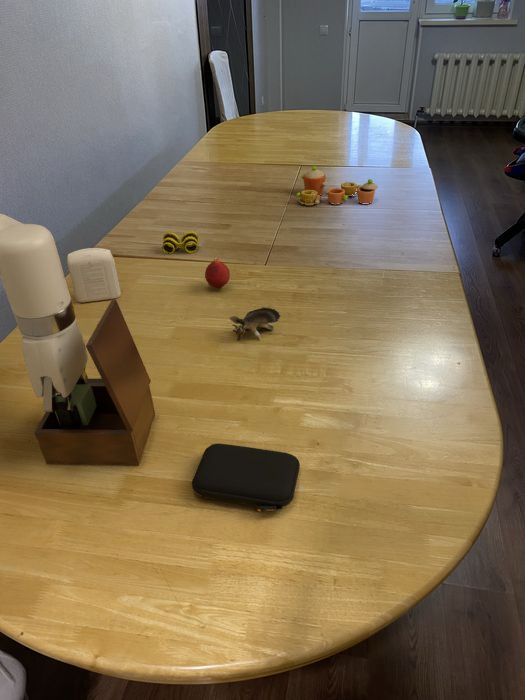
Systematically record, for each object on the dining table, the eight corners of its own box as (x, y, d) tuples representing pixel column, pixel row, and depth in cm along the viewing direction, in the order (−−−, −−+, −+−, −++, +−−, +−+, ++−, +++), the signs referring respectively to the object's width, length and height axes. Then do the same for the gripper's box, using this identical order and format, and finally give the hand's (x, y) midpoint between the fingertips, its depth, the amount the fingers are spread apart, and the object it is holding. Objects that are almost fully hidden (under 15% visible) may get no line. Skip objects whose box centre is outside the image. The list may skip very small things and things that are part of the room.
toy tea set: (295, 207, 167) (295, 177, 161) (297, 191, 179) (297, 163, 174) (377, 207, 164) (380, 176, 159) (373, 191, 177) (375, 162, 171)
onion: (225, 296, 121) (222, 265, 116) (202, 292, 123) (199, 262, 118) (234, 284, 125) (232, 254, 121) (212, 281, 127) (209, 251, 122)
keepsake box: (46, 464, 80) (33, 432, 76) (72, 413, 89) (62, 382, 85) (139, 465, 79) (131, 433, 75) (155, 414, 89) (149, 383, 85)
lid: (85, 345, 66) (91, 345, 66) (111, 300, 76) (116, 299, 76) (127, 431, 75) (133, 431, 75) (146, 381, 84) (151, 380, 84)
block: (59, 425, 80) (51, 403, 77) (69, 405, 84) (62, 384, 81) (87, 425, 80) (81, 403, 77) (96, 405, 83) (90, 384, 81)
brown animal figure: (253, 348, 101) (287, 325, 105) (235, 317, 100) (270, 294, 103) (238, 350, 108) (270, 327, 112) (221, 320, 107) (254, 299, 110)
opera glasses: (163, 257, 141) (160, 242, 138) (164, 245, 145) (161, 230, 141) (198, 255, 141) (196, 240, 138) (199, 244, 145) (197, 229, 141)
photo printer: (121, 290, 125) (111, 242, 118) (121, 299, 122) (110, 250, 114) (77, 296, 123) (64, 248, 116) (76, 305, 120) (62, 256, 113)
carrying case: (186, 505, 73) (289, 522, 70) (183, 491, 71) (289, 508, 68) (208, 450, 81) (301, 463, 78) (207, 436, 79) (301, 449, 77)
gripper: (43, 286, 78) (73, 380, 89) (-10, 352, 64) (32, 454, 75) (92, 286, 78) (116, 380, 88) (49, 352, 64) (83, 454, 74)
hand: (77, 413), depth 81 cm, fingers closed on block, 4 cm apart
